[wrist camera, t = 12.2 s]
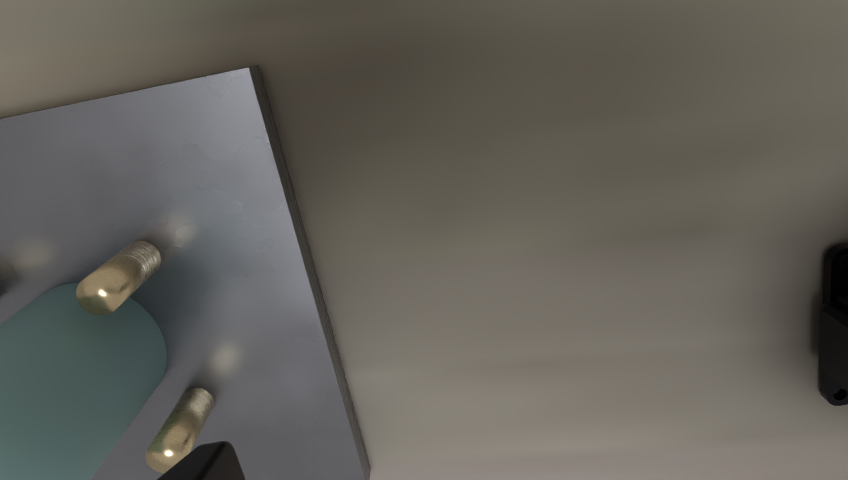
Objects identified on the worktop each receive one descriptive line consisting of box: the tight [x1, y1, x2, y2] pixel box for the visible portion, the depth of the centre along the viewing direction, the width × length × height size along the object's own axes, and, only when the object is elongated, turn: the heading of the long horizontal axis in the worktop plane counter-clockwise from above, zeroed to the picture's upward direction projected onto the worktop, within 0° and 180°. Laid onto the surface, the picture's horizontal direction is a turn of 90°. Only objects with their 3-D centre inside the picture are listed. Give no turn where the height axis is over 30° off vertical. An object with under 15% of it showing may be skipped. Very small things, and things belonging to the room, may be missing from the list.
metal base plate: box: [0, 65, 371, 480], centre depth 20 cm, size 16×16×4 cm
